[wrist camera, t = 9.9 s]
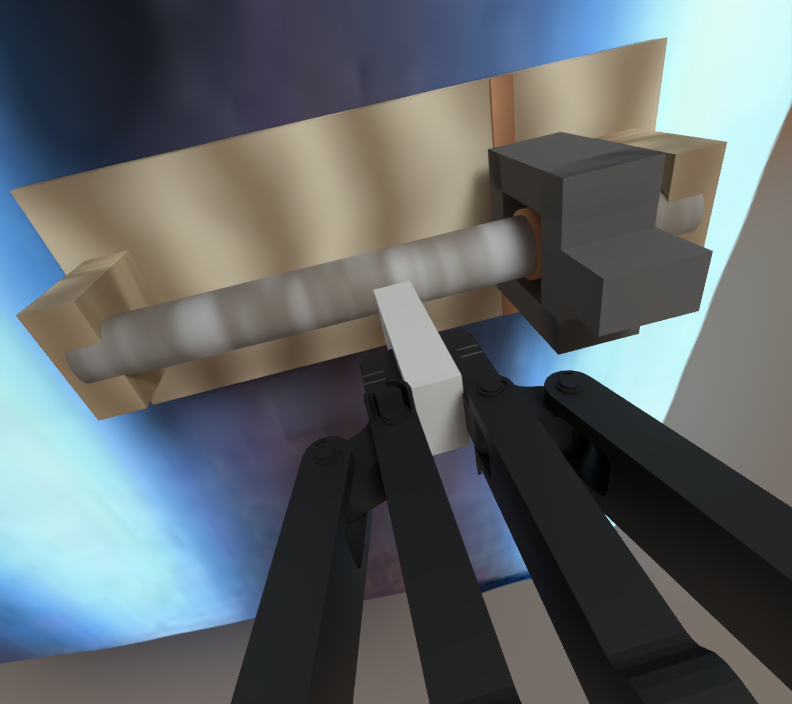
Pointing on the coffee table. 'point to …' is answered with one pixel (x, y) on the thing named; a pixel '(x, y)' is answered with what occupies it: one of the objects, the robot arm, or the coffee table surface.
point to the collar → (594, 239)
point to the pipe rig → (324, 229)
